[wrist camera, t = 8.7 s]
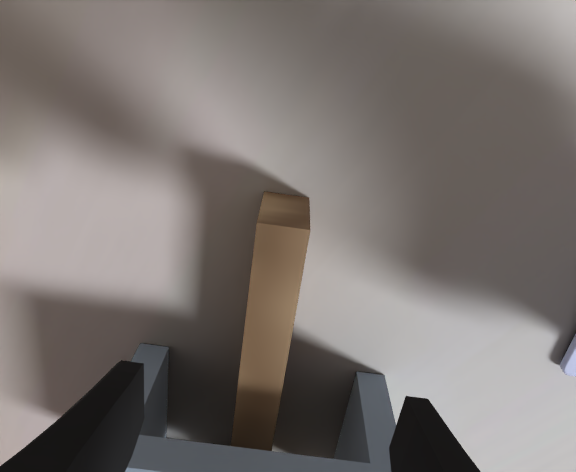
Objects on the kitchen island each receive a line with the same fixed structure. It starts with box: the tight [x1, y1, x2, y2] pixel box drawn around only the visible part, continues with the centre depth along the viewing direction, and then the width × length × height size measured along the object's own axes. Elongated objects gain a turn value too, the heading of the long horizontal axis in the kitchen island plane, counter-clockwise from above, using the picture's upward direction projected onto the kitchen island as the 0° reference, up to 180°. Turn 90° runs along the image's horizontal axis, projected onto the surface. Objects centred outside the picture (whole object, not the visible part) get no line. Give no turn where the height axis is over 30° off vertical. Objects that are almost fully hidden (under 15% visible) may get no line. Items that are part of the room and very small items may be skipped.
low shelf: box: [125, 343, 396, 472], centre depth 22 cm, size 13×8×7 cm, turn 82°
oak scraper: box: [231, 191, 310, 451], centre depth 22 cm, size 6×18×4 cm, turn 172°
